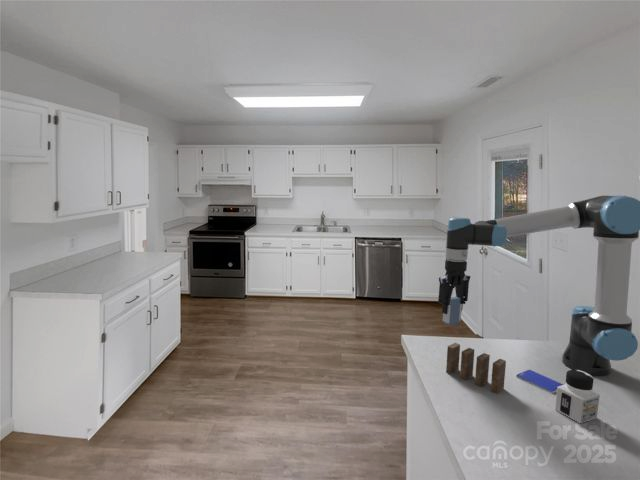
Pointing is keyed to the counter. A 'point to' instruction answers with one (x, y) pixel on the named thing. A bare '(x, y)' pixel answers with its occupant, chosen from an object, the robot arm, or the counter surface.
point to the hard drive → (539, 381)
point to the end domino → (454, 311)
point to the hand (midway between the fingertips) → (451, 320)
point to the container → (577, 397)
